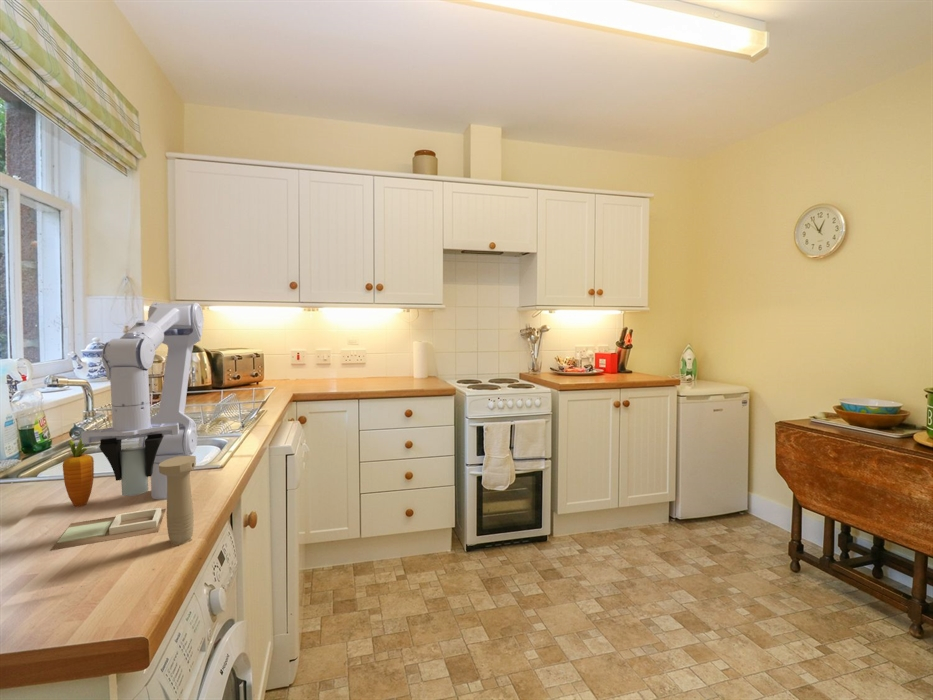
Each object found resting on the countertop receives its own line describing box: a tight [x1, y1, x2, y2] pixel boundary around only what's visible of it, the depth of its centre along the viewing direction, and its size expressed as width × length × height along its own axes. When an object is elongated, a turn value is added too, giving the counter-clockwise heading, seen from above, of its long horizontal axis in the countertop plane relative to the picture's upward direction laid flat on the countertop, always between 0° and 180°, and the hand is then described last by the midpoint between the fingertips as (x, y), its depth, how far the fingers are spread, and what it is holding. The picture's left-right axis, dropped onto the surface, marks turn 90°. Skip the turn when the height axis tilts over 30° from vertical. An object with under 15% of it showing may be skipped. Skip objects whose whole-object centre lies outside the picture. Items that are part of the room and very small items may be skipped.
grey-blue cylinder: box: [120, 446, 149, 497], centre depth 88 cm, size 4×4×8 cm
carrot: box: [62, 438, 95, 507], centre depth 98 cm, size 5×5×15 cm
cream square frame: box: [109, 507, 162, 535], centre depth 89 cm, size 7×7×1 cm
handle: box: [159, 455, 197, 546], centre depth 81 cm, size 5×6×15 cm
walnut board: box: [49, 508, 167, 552], centre depth 87 cm, size 12×15×1 cm
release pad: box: [56, 521, 112, 543], centre depth 85 cm, size 6×6×1 cm
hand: (134, 477), depth 88 cm, fingers closed on grey-blue cylinder, 4 cm apart
